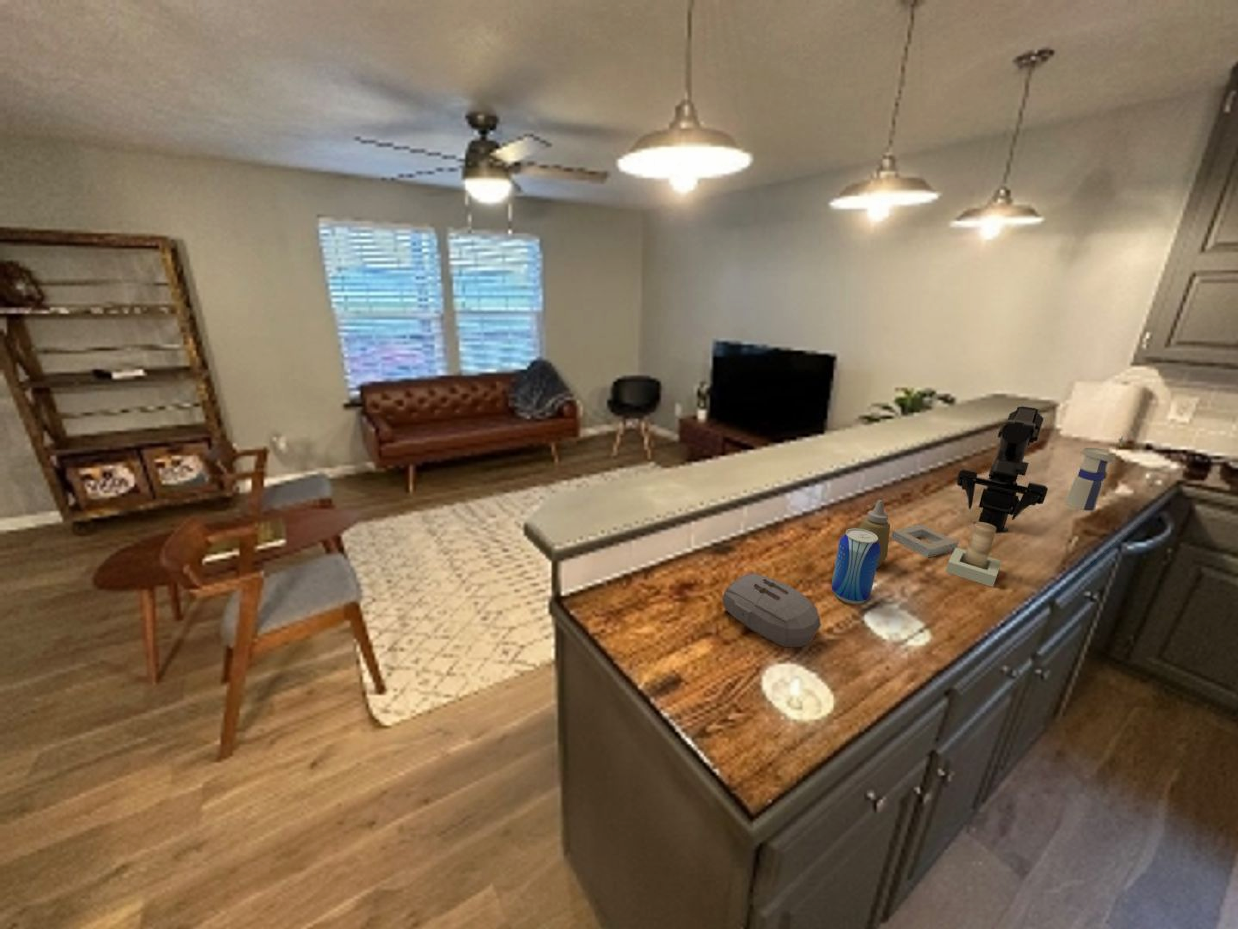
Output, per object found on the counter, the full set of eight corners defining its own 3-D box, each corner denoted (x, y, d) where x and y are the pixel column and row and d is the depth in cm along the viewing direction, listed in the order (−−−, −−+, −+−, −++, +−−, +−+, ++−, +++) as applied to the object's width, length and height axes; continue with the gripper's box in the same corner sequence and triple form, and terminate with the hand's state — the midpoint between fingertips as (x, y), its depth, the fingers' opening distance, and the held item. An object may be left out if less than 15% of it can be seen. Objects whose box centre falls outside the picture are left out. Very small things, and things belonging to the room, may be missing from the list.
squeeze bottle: (882, 558, 132) (896, 496, 126) (887, 573, 125) (901, 509, 119) (849, 553, 135) (861, 492, 129) (852, 568, 128) (865, 504, 122)
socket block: (919, 531, 147) (920, 524, 146) (956, 550, 137) (958, 542, 136) (890, 538, 143) (892, 530, 142) (927, 557, 133) (929, 549, 132)
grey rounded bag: (712, 613, 110) (792, 664, 95) (715, 581, 107) (798, 628, 92) (754, 589, 119) (833, 632, 104) (758, 558, 116) (839, 598, 101)
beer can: (866, 610, 111) (880, 548, 105) (827, 598, 115) (838, 537, 110) (871, 592, 118) (884, 532, 112) (833, 581, 122) (844, 523, 116)
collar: (953, 557, 133) (955, 547, 132) (998, 570, 127) (1001, 560, 126) (945, 571, 126) (948, 561, 125) (992, 587, 120) (996, 576, 119)
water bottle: (1083, 500, 170) (1108, 431, 162) (1103, 511, 162) (1131, 438, 154) (1057, 499, 171) (1081, 430, 162) (1076, 510, 163) (1102, 437, 154)
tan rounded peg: (963, 564, 130) (976, 520, 125) (983, 571, 127) (997, 526, 123) (960, 571, 127) (973, 526, 122) (981, 578, 124) (995, 532, 119)
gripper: (968, 440, 132) (949, 489, 128) (1058, 455, 120) (1041, 511, 116) (965, 460, 140) (948, 508, 136) (1050, 477, 128) (1034, 529, 124)
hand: (990, 513), depth 128 cm, fingers open, 9 cm apart
